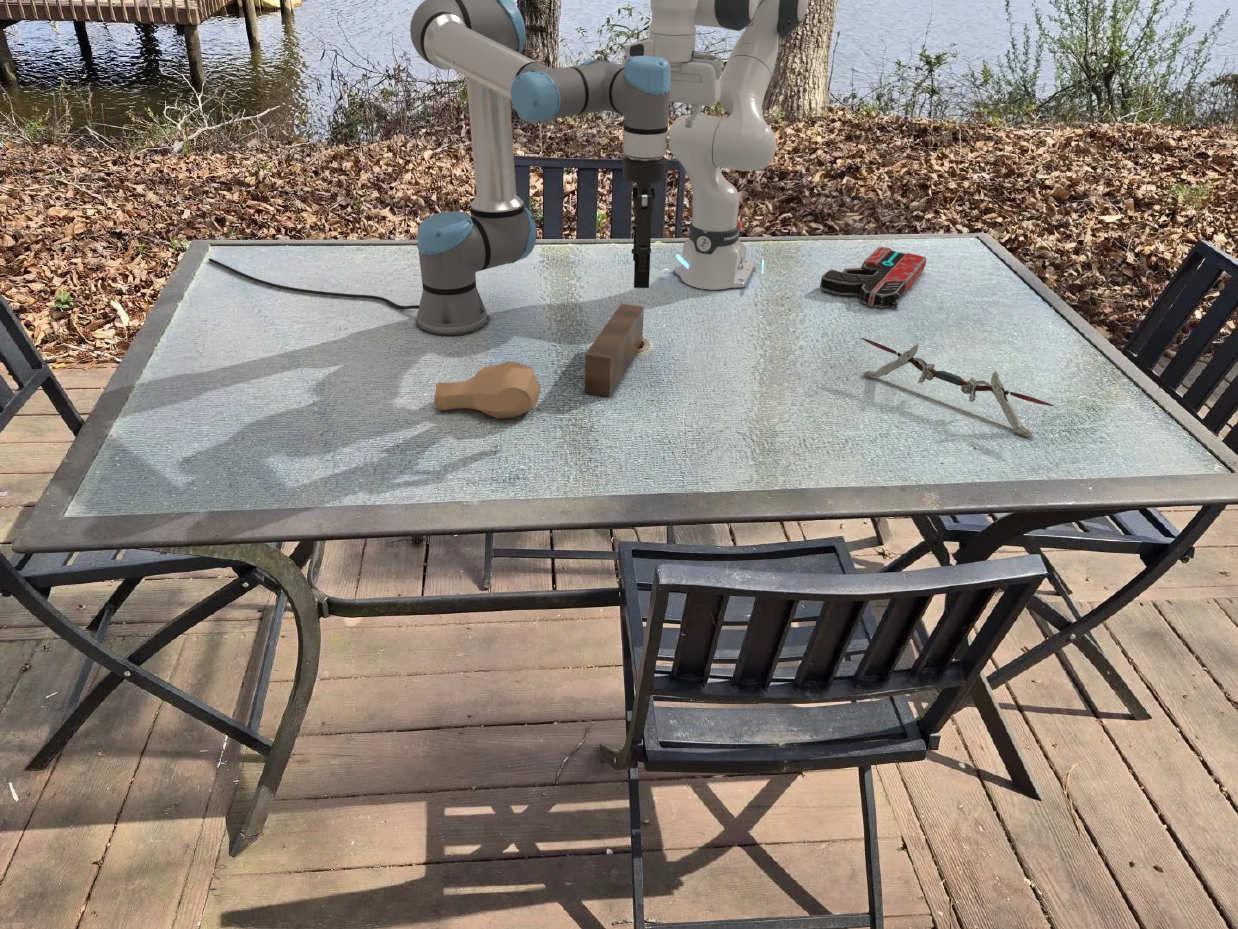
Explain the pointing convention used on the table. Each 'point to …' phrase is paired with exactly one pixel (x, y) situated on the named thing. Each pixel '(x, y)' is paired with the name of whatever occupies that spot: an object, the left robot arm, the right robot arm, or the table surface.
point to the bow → (966, 388)
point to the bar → (613, 350)
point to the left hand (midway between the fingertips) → (640, 273)
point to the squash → (493, 391)
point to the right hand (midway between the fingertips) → (667, 124)
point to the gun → (877, 277)
